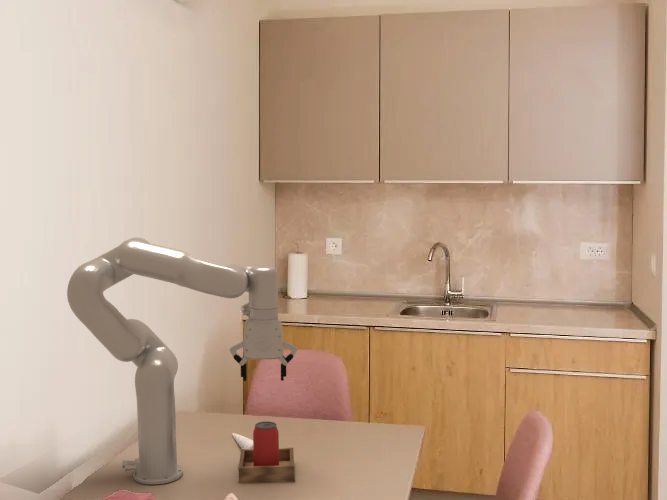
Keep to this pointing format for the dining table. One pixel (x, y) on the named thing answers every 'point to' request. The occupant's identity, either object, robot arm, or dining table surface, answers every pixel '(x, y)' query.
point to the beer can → (266, 444)
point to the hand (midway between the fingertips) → (263, 379)
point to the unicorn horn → (243, 441)
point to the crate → (266, 468)
